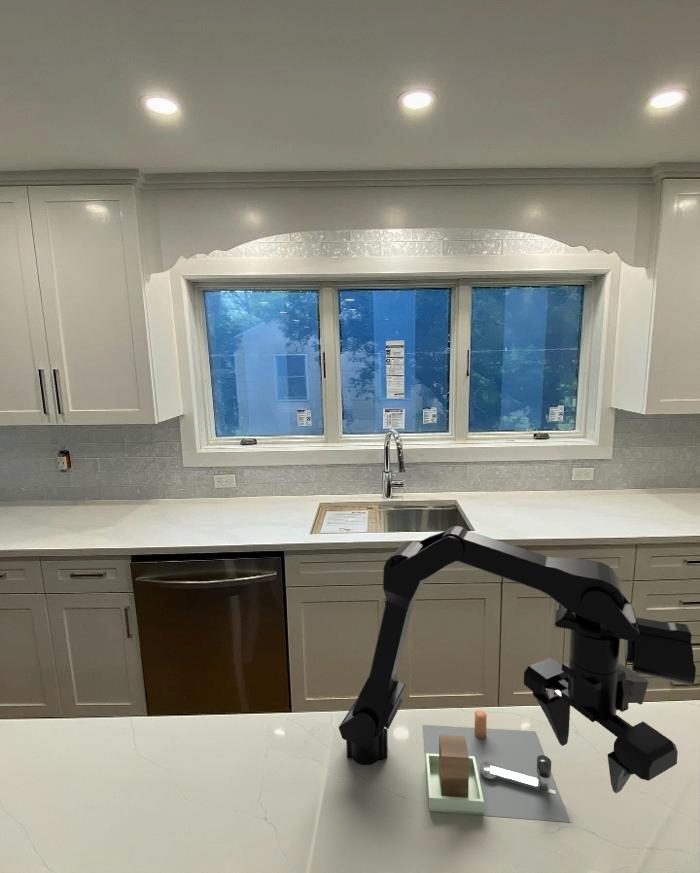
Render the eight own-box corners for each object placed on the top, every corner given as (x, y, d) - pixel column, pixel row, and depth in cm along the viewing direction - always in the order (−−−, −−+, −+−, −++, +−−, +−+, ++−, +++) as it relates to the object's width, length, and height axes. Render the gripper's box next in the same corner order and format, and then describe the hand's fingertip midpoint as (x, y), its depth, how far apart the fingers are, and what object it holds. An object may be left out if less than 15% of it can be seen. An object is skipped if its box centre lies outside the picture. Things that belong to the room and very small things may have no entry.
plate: (428, 818, 67) (428, 787, 66) (422, 730, 83) (422, 705, 82) (570, 829, 64) (571, 797, 64) (535, 737, 81) (536, 711, 80)
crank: (479, 777, 71) (479, 750, 71) (480, 763, 74) (481, 737, 73) (550, 797, 68) (551, 770, 67) (549, 782, 70) (550, 755, 70)
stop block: (468, 799, 68) (468, 757, 67) (441, 797, 68) (441, 756, 67) (464, 775, 72) (465, 736, 71) (439, 773, 72) (439, 734, 71)
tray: (429, 810, 67) (429, 797, 66) (426, 765, 74) (426, 753, 74) (483, 814, 66) (483, 801, 65) (474, 768, 73) (474, 756, 73)
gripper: (710, 685, 54) (700, 800, 56) (575, 612, 71) (572, 702, 73) (649, 716, 49) (642, 839, 52) (521, 630, 66) (520, 726, 68)
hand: (588, 766), depth 61 cm, fingers open, 8 cm apart
